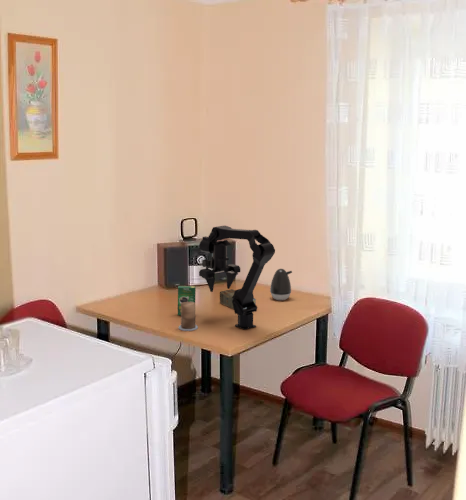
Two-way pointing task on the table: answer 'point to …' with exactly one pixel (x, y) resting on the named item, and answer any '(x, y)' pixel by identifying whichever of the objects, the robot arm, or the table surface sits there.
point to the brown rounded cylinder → (188, 315)
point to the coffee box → (185, 295)
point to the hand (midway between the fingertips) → (220, 290)
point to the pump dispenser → (280, 285)
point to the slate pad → (188, 329)
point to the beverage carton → (229, 298)
